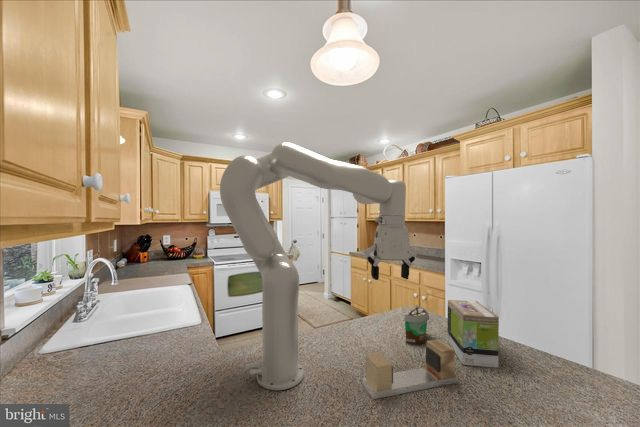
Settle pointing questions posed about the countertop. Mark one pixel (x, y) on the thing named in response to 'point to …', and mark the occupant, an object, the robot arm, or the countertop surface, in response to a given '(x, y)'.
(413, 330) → the food container
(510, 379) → the countertop surface
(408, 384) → the rail
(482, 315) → the tea box
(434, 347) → the block
